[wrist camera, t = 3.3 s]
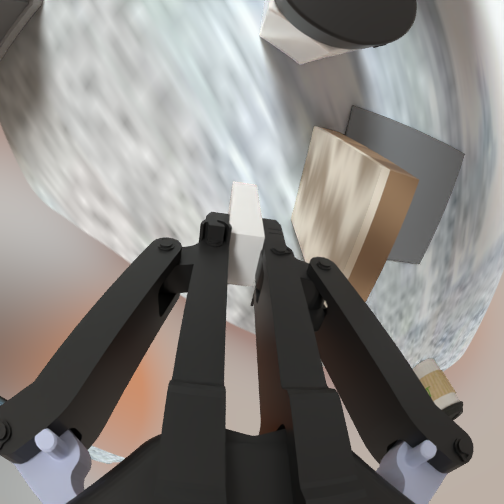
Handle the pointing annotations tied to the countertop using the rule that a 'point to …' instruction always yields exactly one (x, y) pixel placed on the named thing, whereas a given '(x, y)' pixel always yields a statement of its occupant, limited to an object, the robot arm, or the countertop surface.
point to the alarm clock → (14, 19)
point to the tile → (350, 206)
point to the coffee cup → (439, 388)
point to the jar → (333, 25)
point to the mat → (417, 164)
